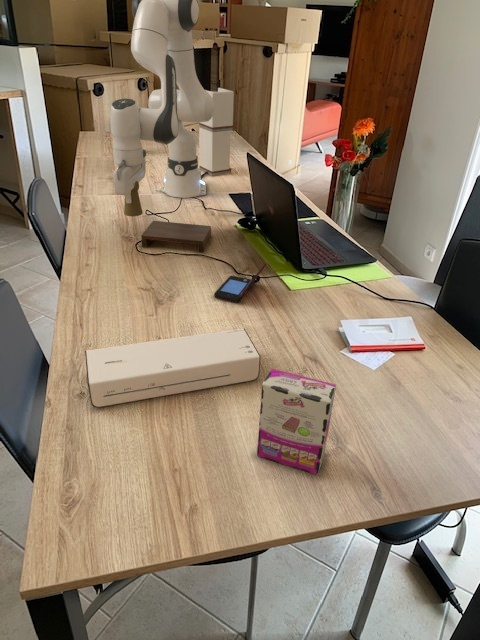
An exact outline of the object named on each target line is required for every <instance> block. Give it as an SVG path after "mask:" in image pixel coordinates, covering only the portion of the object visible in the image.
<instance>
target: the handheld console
mask: <svg viewBox="0 0 480 640" xmlns="http://www.w3.org/2000/svg"><path fill="white" fill-rule="evenodd" d="M266 266H267V263H264V264H263V266H261V268H260V269H259V270H258V272H257V273H256V274H255V276H253V277H251V279H250V278H247V277H246V278H245V277H240V276H236V275H230V276H229V277H228V278H227V279H226V280H225V281H224V282H223V283H222V284H221V286H219V288H217V289H216V291H215V292H214V293H213V294H214V295H213V297H214V298H215V299H218V300H222V301H227V302H231V303H236V304H240V302H242V301H241V300H242V299H243V298H244V297H245V295H246V293H248V291H249V290H250V289H251V288H252V287H253V286H254V284H255V281H256V279H257V278H258V277H259V275H260V274H261V273H262V272H263V271H264V269H265V268H266Z"/></svg>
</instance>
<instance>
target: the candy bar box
mask: <svg viewBox="0 0 480 640" xmlns="http://www.w3.org/2000/svg"><path fill="white" fill-rule="evenodd" d="M336 388H337V384H335V383H332V382H328V381H323V380H319V379H316V378H312V377H307V376H303V375H300V374H297V373H292V372H287V371H284V370H280V369H276V368H270V370H269V372H268V374H267V375H266V377H265V379H264V381H263V382H262V384H261V393H260V395H261V396H260V409H259V411H260V412H259V423H258V437H257V448H256V456H257V457H259V458H262V459H265V460H268V461H271V462H275V463H277V464H280V465H283V466H288V467H291V468H294V469H297V470H300V471H304V472H307V473H310V474H313V475H315V476H318V475H319V473H320V469H321V466H322V463H323V460H324V457H325V454H326V453H325V452H326V447H327V441H328V435H329V429H330V425H331V419H332V418H331V417H332V412H333V406H334V400H335V395H336V394H335V393H336V390H337V389H336Z"/></svg>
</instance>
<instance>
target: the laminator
mask: <svg viewBox="0 0 480 640" xmlns="http://www.w3.org/2000/svg"><path fill="white" fill-rule="evenodd" d="M84 356H85V357H84V358H85V366H86V367H85V368H86V379H87V387H88V394H89V400H90V404H91V406H92V407H94V408H98V409H99V408H107V407H112V406H118V405H124V404H129V403H136V402H141V401H147V400H152V399H157V398H163V397H169V396H175V395H180V394H181V395H182V394H187V393H192V392H199V391H204V390H209V389H215V388H216V389H217V388H222V387H227V386H232V385H233V386H234V385H238V384H239V385H240V384H244V383H250V382H254V381H256V380H257V379H259V376H260V372H261V358H262V357H261V354H260V353H259V351H258V349H257V348H256V346H255V344H254V342H253V340H252V339H251V337H250V336H249V334H248V332H247V330H246V328H245V327H241V328H235V329H234V328H233V329H226V330H219V331H214V332H206V333H200V334H199V333H198V334H192V335H185V336H179V337H172V338H164V339H159V340H158V339H157V340H149V341H143V342H135V343H129V344H121V345H117V346H116V345H114V346H109V347H108V346H107V347H102V348H95V349H93V348H92V349H87V350H84Z"/></svg>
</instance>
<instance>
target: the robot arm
mask: <svg viewBox="0 0 480 640" xmlns="http://www.w3.org/2000/svg"><path fill="white" fill-rule="evenodd" d="M199 6H200V5H199V2H198V0H131V14H132V16H133V24H132V25H133V26H132V31H131V39H130V52H131V54H132V56H133V58H134V60H135V61H136V62H137V64H138V65H140V66H141V67H143V68H144V69H145V70H147V71H148V72H150V73H152V74H154V75H156V76H158V78H159V79H160V80H159V81H160V88H158V89H154V90H153V91H152V92H151V93H150V95H149V97H148V103H147V105H148V107H141V106H138V104H137V101H136V100H134V99H133V98H120V99H119V98H118V99H116V100H113V102H111V104H110V111H109V121H110V122H109V123H110V124H109V125H110V133H111V135H112V151H113V152H112V154H113V162H114V164H115V165H116V168H115V169H114V171H113V189H114V193H115V195H116V196H124V200H125V199H126V203H131V202H132V201H133V200H132V197H131V194H130V193H131V190H132V189H133V188H134V186H135V182H136V181H138V183H140V182H141V181H143V179H144V178H145V177H146V172H147V171H146V170H147V169H146V168H147V167H146V164H147V163H146V157H147V149H145V148H143V144H142V141H146V142H153V143H158V144H162V145H167V150H168V151H167V152H168V157H167V169H166V170H165V171H164V179H163V182H164V186H163V187H161V188H160V191H161V192H162V193H165V194H166V195H167V196H170V197H172V198H179V199H188V198H194V197H195V198H196V197H200V196H205V195H207V182H206V181H205V180H204V181H203V180H202V178H204V176H206V175H207V174H208V171H207V172H203V173H202V171H201V170H199V157H198V155H197V138H196V136H195V135H194V134H193V132H192V131H190V130H188V129H187V128H186V126H185V124H184V122H185V123H194V124H195V123H196V124H197V123H198V124H199V123H200V122H207V121H209V120H210V119H211V118H212V116H213V114H214V111H215V105H214V101H213V99H212V97H211V96H210V95H209V94H208V93H207V92H206V91H205V90H206V89H204V87H203V86H202V84H201V82H200V80H199V78H198V76H197V72H196V65H195V64H196V63H195V55H194V52H195V51H194V40H193V32H192V29H194V28H195V26H196V25H197V24H198V21H199V16H200V7H199ZM177 88H178V89H177ZM208 175H209V174H208Z"/></svg>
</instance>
